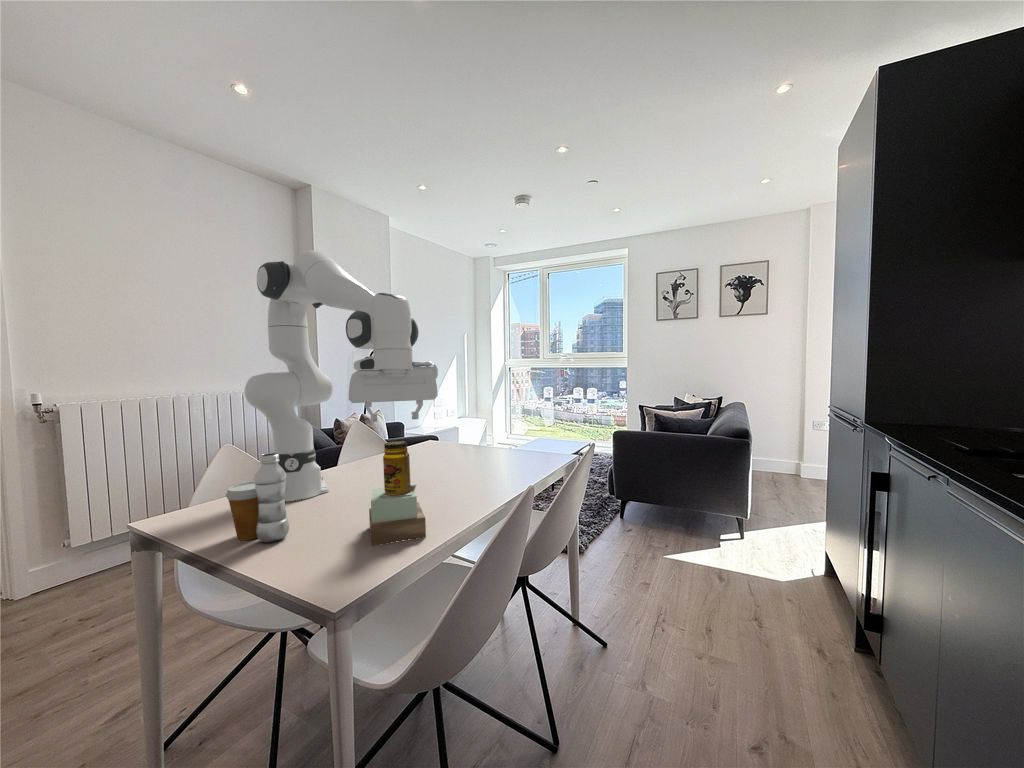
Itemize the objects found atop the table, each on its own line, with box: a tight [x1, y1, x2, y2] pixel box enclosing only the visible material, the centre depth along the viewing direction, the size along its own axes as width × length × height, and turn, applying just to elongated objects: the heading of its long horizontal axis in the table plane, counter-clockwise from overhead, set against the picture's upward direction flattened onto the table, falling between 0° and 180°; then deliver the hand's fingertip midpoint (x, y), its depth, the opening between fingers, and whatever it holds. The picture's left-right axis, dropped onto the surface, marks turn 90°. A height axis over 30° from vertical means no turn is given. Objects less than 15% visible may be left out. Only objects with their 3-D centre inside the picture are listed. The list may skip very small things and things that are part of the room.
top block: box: [370, 487, 418, 523], centre depth 99 cm, size 10×10×5 cm
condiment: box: [380, 440, 417, 497], centre depth 100 cm, size 7×8×12 cm
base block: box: [368, 501, 427, 547], centre depth 100 cm, size 12×12×5 cm
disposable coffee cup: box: [225, 480, 258, 541], centre depth 100 cm, size 10×10×12 cm
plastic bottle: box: [253, 452, 290, 543], centre depth 97 cm, size 6×7×20 cm
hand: (394, 420), depth 99 cm, fingers open, 8 cm apart
